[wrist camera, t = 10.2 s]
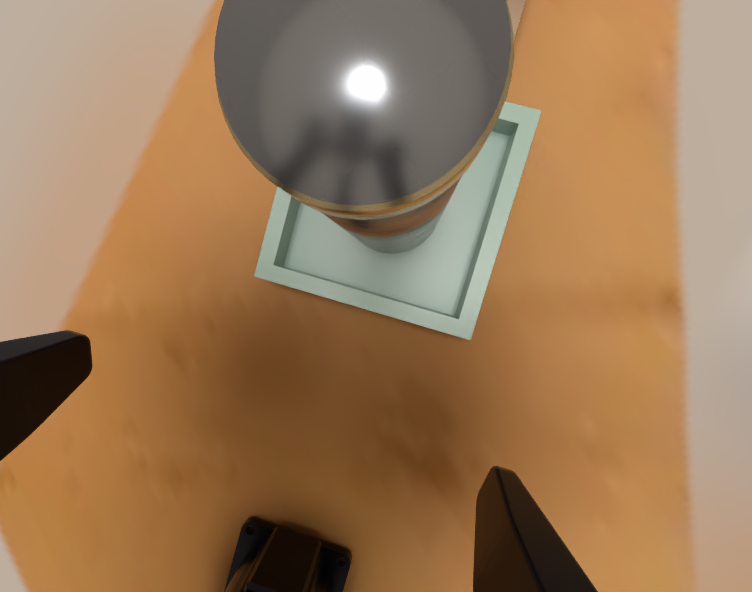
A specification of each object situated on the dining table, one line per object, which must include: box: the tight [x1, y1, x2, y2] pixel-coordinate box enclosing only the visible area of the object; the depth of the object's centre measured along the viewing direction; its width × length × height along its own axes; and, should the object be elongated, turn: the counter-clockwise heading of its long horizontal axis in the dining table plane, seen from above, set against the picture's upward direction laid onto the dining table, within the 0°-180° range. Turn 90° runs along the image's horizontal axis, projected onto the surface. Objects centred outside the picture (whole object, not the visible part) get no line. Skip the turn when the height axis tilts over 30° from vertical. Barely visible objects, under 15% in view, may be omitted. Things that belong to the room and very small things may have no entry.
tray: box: [254, 101, 541, 340], centre depth 19 cm, size 11×11×2 cm
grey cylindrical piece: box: [214, 0, 514, 254], centre depth 13 cm, size 5×5×13 cm
